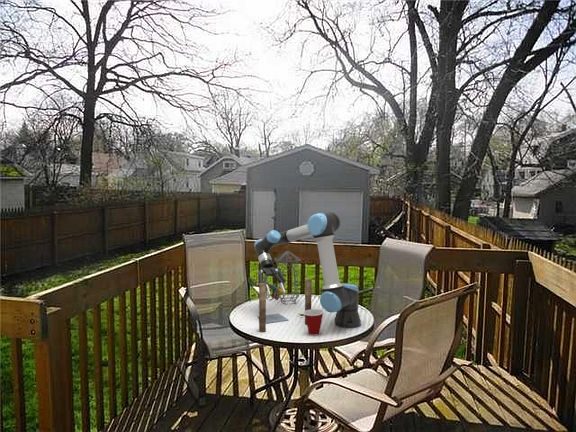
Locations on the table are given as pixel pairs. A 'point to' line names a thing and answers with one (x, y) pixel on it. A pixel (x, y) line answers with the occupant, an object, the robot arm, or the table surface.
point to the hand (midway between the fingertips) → (276, 294)
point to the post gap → (263, 302)
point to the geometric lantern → (286, 272)
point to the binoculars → (275, 291)
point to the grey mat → (275, 318)
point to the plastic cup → (314, 320)
